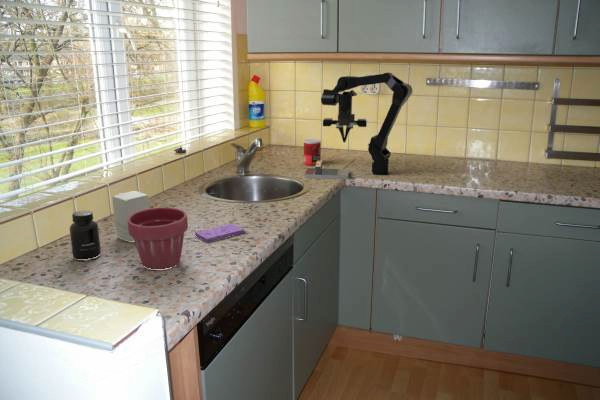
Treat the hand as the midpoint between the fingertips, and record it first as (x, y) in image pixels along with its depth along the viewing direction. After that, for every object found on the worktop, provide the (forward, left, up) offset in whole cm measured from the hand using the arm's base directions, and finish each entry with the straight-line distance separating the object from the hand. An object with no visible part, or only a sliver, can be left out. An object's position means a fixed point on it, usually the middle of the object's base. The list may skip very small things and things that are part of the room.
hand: (344, 142), depth 222 cm
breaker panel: (+6, +12, -12) cm, 18 cm away
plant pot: (+41, +108, -12) cm, 116 cm away
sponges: (+32, +86, -13) cm, 93 cm away
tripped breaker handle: (+10, +12, -10) cm, 19 cm away
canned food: (+15, -8, -12) cm, 21 cm away
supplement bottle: (+62, +106, -12) cm, 123 cm away
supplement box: (+56, +91, -12) cm, 108 cm away
